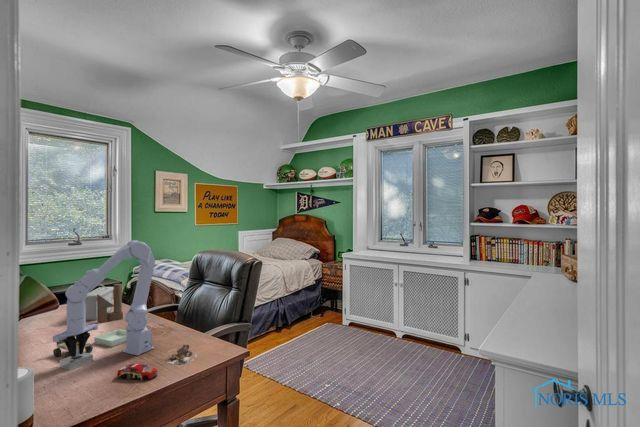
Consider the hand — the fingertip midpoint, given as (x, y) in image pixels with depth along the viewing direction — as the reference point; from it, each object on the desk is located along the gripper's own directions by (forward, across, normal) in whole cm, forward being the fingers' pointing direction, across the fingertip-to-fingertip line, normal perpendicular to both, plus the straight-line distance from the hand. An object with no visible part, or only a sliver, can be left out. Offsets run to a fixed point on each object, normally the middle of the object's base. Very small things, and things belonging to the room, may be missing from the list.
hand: (76, 354), depth 127 cm
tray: (+3, -21, -8) cm, 23 cm away
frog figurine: (+4, -20, +30) cm, 37 cm away
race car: (+4, -3, +28) cm, 29 cm away
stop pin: (+3, 0, 0) cm, 3 cm away
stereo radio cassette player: (+4, -41, -50) cm, 65 cm away
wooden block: (+4, -38, -36) cm, 53 cm away
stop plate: (+3, 0, 0) cm, 3 cm away
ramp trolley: (+3, -5, -10) cm, 12 cm away
